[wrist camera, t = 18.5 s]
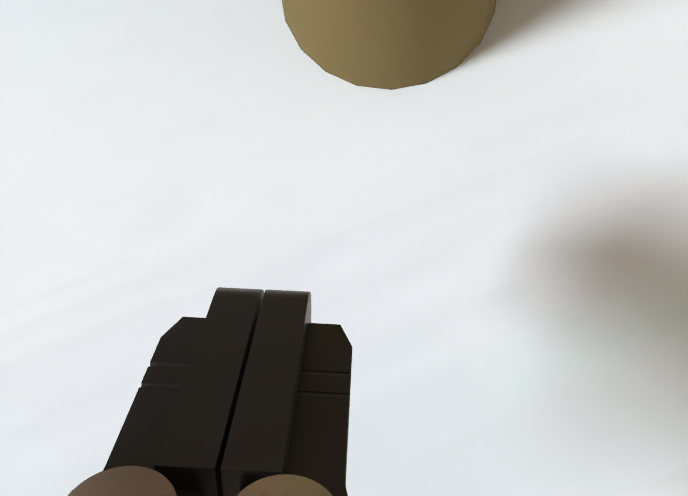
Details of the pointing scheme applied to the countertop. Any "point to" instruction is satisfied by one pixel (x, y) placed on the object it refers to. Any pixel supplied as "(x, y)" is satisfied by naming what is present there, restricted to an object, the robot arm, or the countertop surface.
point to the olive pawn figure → (388, 37)
